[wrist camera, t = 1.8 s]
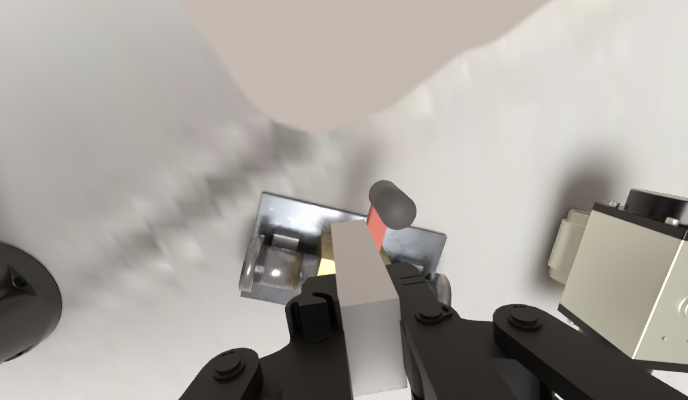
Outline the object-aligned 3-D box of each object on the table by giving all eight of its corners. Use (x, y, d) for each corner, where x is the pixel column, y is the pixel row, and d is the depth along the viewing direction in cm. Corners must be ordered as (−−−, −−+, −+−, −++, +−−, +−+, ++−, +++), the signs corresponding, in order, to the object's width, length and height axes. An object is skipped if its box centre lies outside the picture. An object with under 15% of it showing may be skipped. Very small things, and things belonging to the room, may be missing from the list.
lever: (365, 327, 34) (374, 370, 29) (324, 320, 34) (325, 362, 28) (409, 186, 31) (430, 202, 25) (365, 174, 30) (376, 188, 25)
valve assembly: (241, 293, 43) (220, 341, 34) (263, 192, 40) (246, 214, 31) (412, 326, 46) (436, 378, 37) (444, 234, 43) (479, 266, 34)
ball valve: (574, 303, 47) (719, 409, 30) (519, 297, 46) (637, 402, 29) (617, 181, 43) (814, 224, 26) (558, 172, 42) (722, 210, 25)
